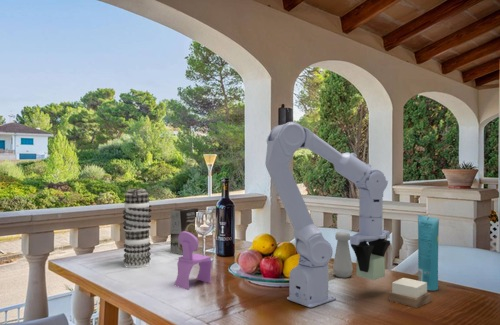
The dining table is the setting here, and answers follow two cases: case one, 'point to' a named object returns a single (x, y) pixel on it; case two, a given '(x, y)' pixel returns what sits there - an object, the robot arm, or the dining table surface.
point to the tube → (428, 251)
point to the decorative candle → (137, 228)
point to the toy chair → (191, 261)
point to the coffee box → (182, 226)
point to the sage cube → (373, 268)
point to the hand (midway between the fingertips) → (370, 269)
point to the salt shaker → (342, 256)
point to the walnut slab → (410, 299)
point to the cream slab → (409, 287)
